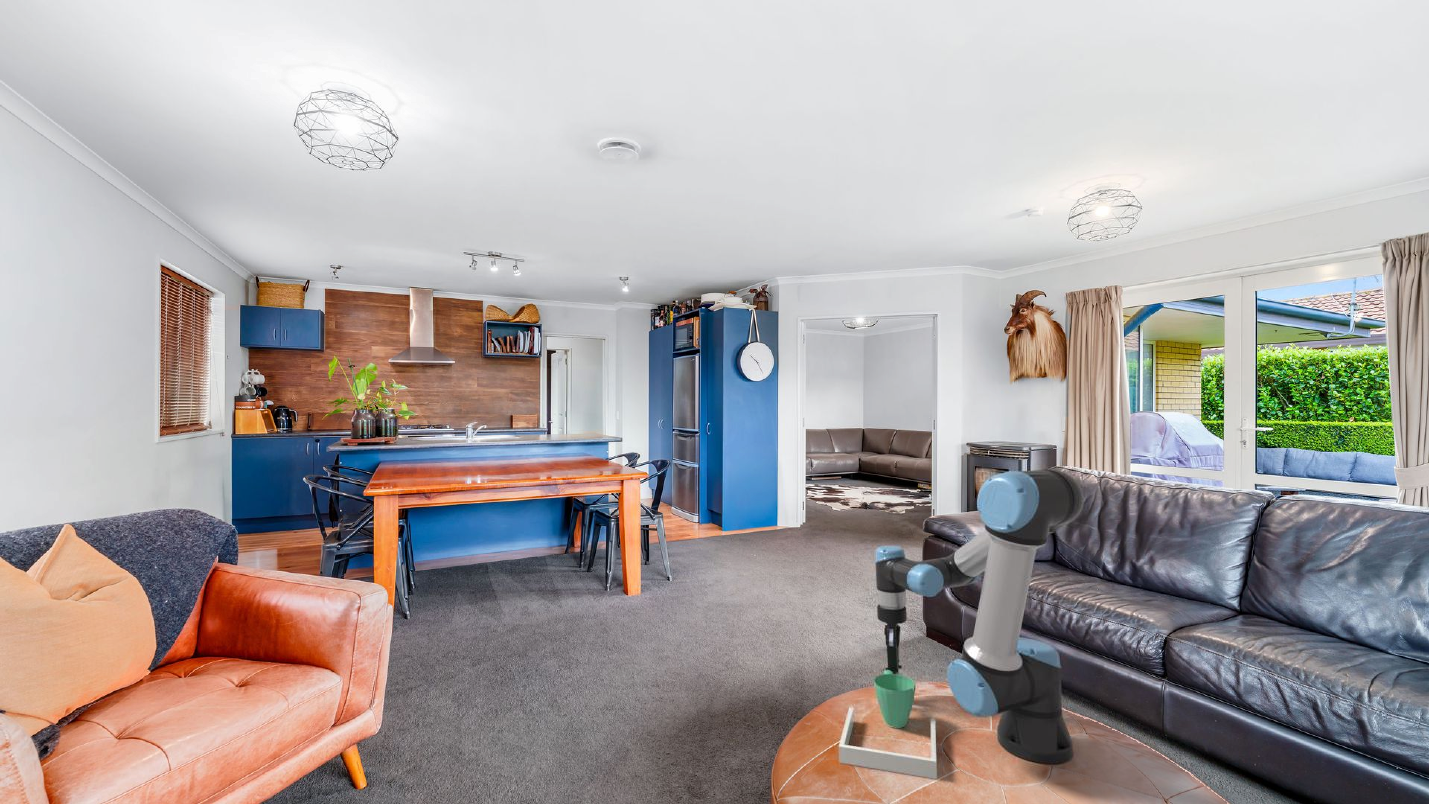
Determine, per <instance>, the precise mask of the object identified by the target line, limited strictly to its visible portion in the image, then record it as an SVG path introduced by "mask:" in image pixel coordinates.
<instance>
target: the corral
mask: <svg viewBox="0 0 1429 804" xmlns="http://www.w3.org/2000/svg"><path fill="white" fill-rule="evenodd" d="M854 712H855V709H854V707H852V706H849V708H848V711H847V715H846V719H845V721H844V726H843V729H842V734H841V736H840V741H839V744H838V763H840V764H845V765H850V766H856V767H864V768H870V769H874V770H881V771H885V772H886V771H888V772H894V773H898V774H905V775H908V776H909V775H910V776H915V777H922V778H928V779H934V780H938V773H937V772H938V769H937V768H938V766H937V737H936V736H937V734H936V733H937V732H936V718H935V717H934V718H933V717H930V757H925V756H918V755H910V754H905V753H899V752H892V751H886V750H880V749H873V748H869V747H868V748H866V747H862V746H855V745H849V744H850V740H851V735H852V732H853V727H854V723H855V716H854V715H855V713H854Z"/></svg>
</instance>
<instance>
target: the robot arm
mask: <svg viewBox="0 0 1429 804" xmlns="http://www.w3.org/2000/svg"><path fill="white" fill-rule="evenodd" d="M1084 502H1085V498H1084V493H1083V490H1082V487H1081V485H1080V484H1079V482H1077V480H1075V479H1074V477H1072V476H1071V475H1070V474H1067V473H1066V472H1063V471H1061V470H1057V469H1052V468H1049V469H1047V468H1046V469H1038V470H1037V469H1036V470H1035V469H1034V470H1022V471H1019V470H1010V471H1005V472H1003V473H1002V472H1001V473H998V474H995V475H992V476H991V477H989V478H988V479H987V480H986V481H984V483H983V484H982V485H981V486H980V489H979V492H978V495H977V501H976V505H977V511H978V512H979V513H980V515H979V517H980V519H981V521H982V523H984V530H983V531H982V532H980V533H979V534H977V535H976V536H975V537H973V538H971V540H969V541H967V542H966V543H965V544H963V545H962V546H960V548H958V549H957V550H956V551H954V552H953V553H951V554H950V555H948V556H946V557H945V556H944V557H940V558H933V559H926V560H920V561H919V560H917V561H915V560H912V559H908V558H906V555H905V550H904V549H903V548H902V547H901V546H897V545H881V546H879V547H877V548H876V549H875V561H874V564H875V581H876V582H875V583H876V591H874V595H875V596H876V602H877V604H878V605H877V606H876V611H877V613H876V614H877V619H878V620H879V621H880V622H881V623H884V628H883V629H884V636H885V637H884V638H885V645H886V657H887V667H885V670H890V671H892V673H893V674H897V675H900V670H901V669H903V668H902V667H903V666H902V665H900V661H901V660H900V657H899V656H900V651H899V650H900V647H899V646H900V641H901V626H899V625H900V624H901V625H902V624H904V623H906V621H907V618H908V617H907V616H908V615H907V613H908V612H907V607H906V605H907V591H910V592H912V593H915V594H916V595H919V596H925V597H928V598H929V597H930V598H932V597H935V596H937V594H939V593H940V592H941V591H942V590H944V589H949V588H956V587H966V586H969V585H971V584H972V585H973V584H975V583H977V582H978V581H979V577H980V576H981V574H982V573H983V572H984V574H983V575H984V576H983V580H982V581H983V582H982V586H981V592H980V599H979V603H978V609H977V613H976V619H975V624H974V625H975V626H974V630H973V635H972V637H971V636H970V637H969V638H967V639H966V640H965V641H964V644H963V647H962V651H961V652H962V654H961V656H960V658H956V659H955V660H953V661H952V662H950V663H949V665H948V667H947V672H946V676H947V677H946V678H947V683H948V686H949V689H950V691H951V692H952V695H953V697H954V699H955V700H956V702H957V703H958V704H959V705H960V707H961V708H962V709H963V710H965V712H967V713H968V714H969V715H972V716H973V717H974V716H975V717H976V718H977V717H978V718H987V717H994V716H996V715H999V714H1001V715H1000V718H999V720H998V723H997V728H996V733H997V741H998V743H999V745H1000V746H1001V747H1002V748H1003V749H1004V750H1006V751H1007V752H1009V753H1010V754H1012V755H1014V756H1016V757H1018V758H1020V759H1023V760H1026V761H1030V762H1035V763H1039V764H1047V765H1049V764H1050V765H1052V764H1053V765H1055V764H1062V763H1066V762H1068V761H1070V760H1071V759H1072V758H1073V756H1074V743H1073V740H1072V737H1071V735H1070V732H1069V728H1068V726H1067V724H1066V722H1065V719H1064V717H1063V704H1062V703H1063V702H1062V699H1063V698H1062V681H1061V679H1062V677H1061V676H1062V674H1061V669H1062V665H1061V661H1060V655H1059V652H1058V650H1056V648H1054V647H1053V646H1051V644H1048V643H1045V642H1042V641H1039V640H1036V639H1031V638H1027V637H1021V636H1020V633H1021V629H1022V625H1023V624H1022V623H1023V619H1024V614H1025V613H1024V612H1025V609H1026V604H1027V599H1028V594H1029V589H1030V583H1031V579H1032V574H1033V568H1034V564H1035V558H1036V555H1037V554H1036V553H1037V550H1038V549H1040V548H1043V547H1044V546H1046V545H1047V542H1048V537H1049V534H1053V533H1055V532H1057V531H1058V530H1060V529H1062V528H1063V527H1065V526H1066V525H1068V524H1069V523H1071V522H1073V521H1074V520H1075V519H1076V518H1078V517H1079V515H1080V514H1081V512H1082V511H1083V508H1084Z"/></svg>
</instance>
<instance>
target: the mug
mask: <svg viewBox="0 0 1429 804" xmlns="http://www.w3.org/2000/svg"><path fill="white" fill-rule="evenodd" d="M873 687H874V691H875V695H876V699H877V702H878V707H879V709H880V713H881V715H882V718H883V720H884V722H886V723H887V724H888V725H890V726H893V727H896V728H895V729H903V728H902V727H904V726H905V727H906V726H907V723H908V721H909V718H910V717H911V712H912V708H913V706H914V705H913V704H914V701H915V693H916V683H915V681H914V680H913V679H912V678H910V677H908V676H905V675H901V674H899V675H897V674H893V673H892V671H890V670H886V669H885V670H884V671H882V674H879V675H877V676H876V677H875V678H874V679H873ZM886 723H885V724H886ZM887 724H886V725H887ZM888 725H887V726H888ZM890 726H889V727H890ZM905 727H904V728H905Z"/></svg>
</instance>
